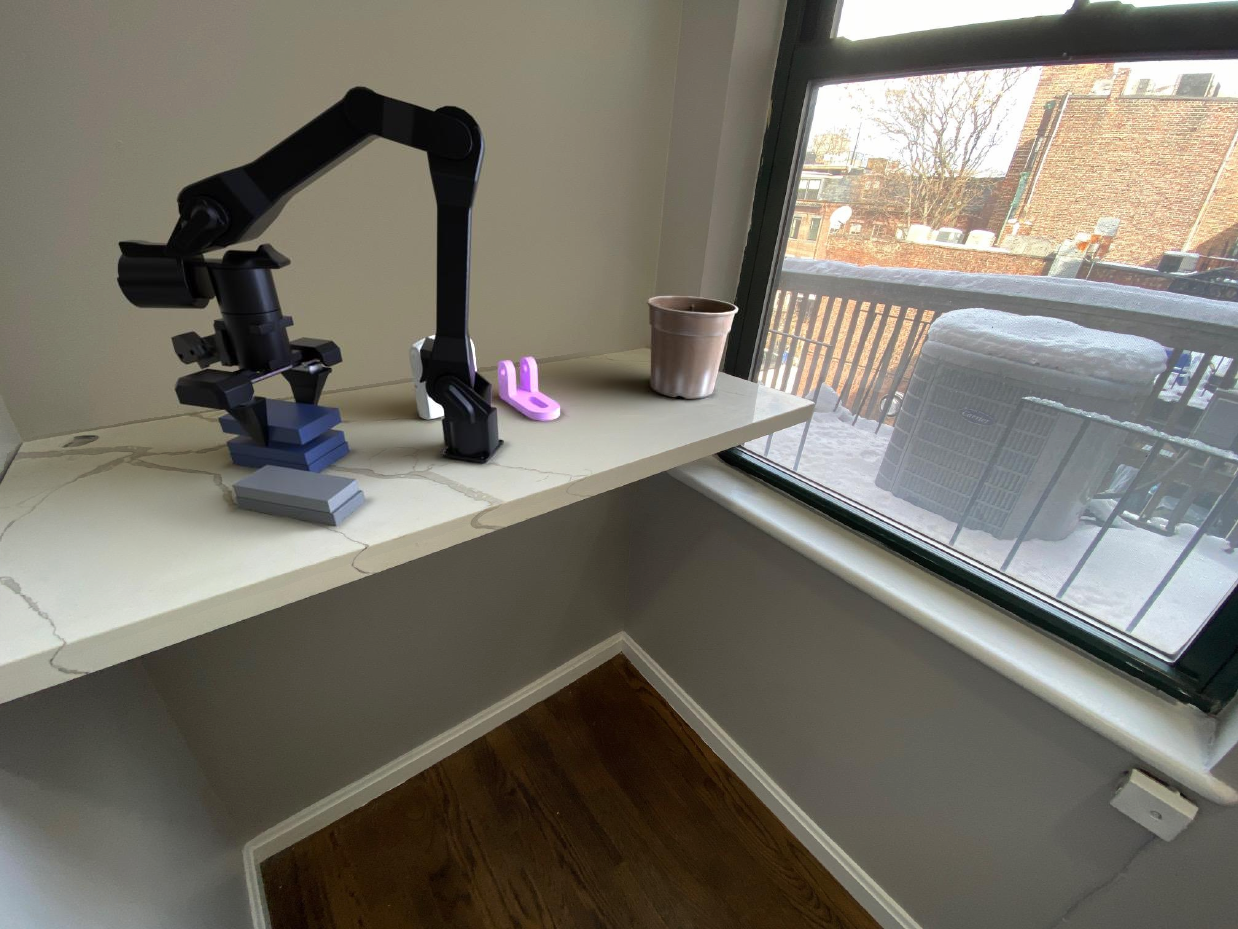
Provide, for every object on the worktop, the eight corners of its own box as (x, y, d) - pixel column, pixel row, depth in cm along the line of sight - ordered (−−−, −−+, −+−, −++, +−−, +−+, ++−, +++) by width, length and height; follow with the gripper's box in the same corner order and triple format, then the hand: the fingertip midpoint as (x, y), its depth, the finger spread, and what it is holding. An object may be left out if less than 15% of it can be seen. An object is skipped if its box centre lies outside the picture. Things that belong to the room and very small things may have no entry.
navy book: (341, 422, 67) (338, 408, 66) (302, 445, 60) (298, 429, 60) (268, 411, 68) (264, 397, 67) (223, 432, 62) (217, 417, 61)
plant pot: (675, 370, 109) (684, 291, 101) (740, 391, 99) (755, 306, 91) (623, 385, 98) (628, 299, 90) (689, 411, 88) (702, 317, 81)
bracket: (499, 397, 89) (497, 358, 86) (527, 391, 92) (526, 354, 89) (536, 423, 80) (535, 381, 77) (566, 416, 84) (566, 375, 80)
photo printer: (428, 422, 78) (417, 343, 72) (413, 414, 81) (401, 337, 75) (483, 405, 85) (478, 332, 79) (468, 398, 88) (461, 326, 82)
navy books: (350, 452, 69) (345, 430, 67) (311, 477, 62) (305, 454, 61) (277, 440, 70) (271, 419, 69) (233, 464, 64) (225, 441, 63)
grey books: (365, 501, 59) (361, 479, 57) (336, 525, 54) (330, 502, 53) (274, 486, 60) (267, 463, 59) (239, 508, 56) (230, 485, 55)
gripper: (256, 289, 67) (287, 400, 74) (103, 319, 50) (162, 458, 58) (332, 297, 65) (355, 410, 72) (198, 331, 49) (246, 472, 56)
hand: (286, 434), depth 65 cm, fingers closed on navy book, 7 cm apart
